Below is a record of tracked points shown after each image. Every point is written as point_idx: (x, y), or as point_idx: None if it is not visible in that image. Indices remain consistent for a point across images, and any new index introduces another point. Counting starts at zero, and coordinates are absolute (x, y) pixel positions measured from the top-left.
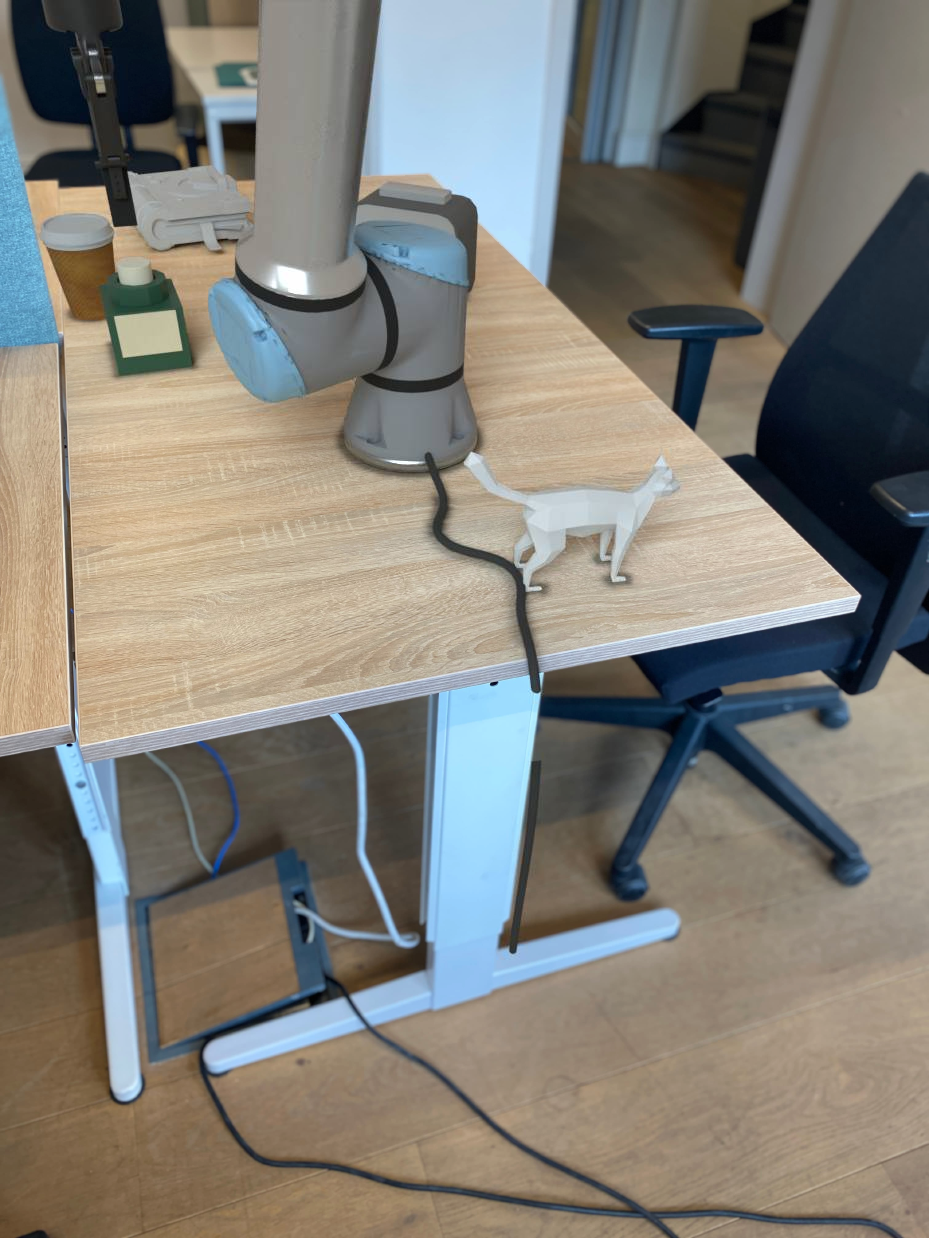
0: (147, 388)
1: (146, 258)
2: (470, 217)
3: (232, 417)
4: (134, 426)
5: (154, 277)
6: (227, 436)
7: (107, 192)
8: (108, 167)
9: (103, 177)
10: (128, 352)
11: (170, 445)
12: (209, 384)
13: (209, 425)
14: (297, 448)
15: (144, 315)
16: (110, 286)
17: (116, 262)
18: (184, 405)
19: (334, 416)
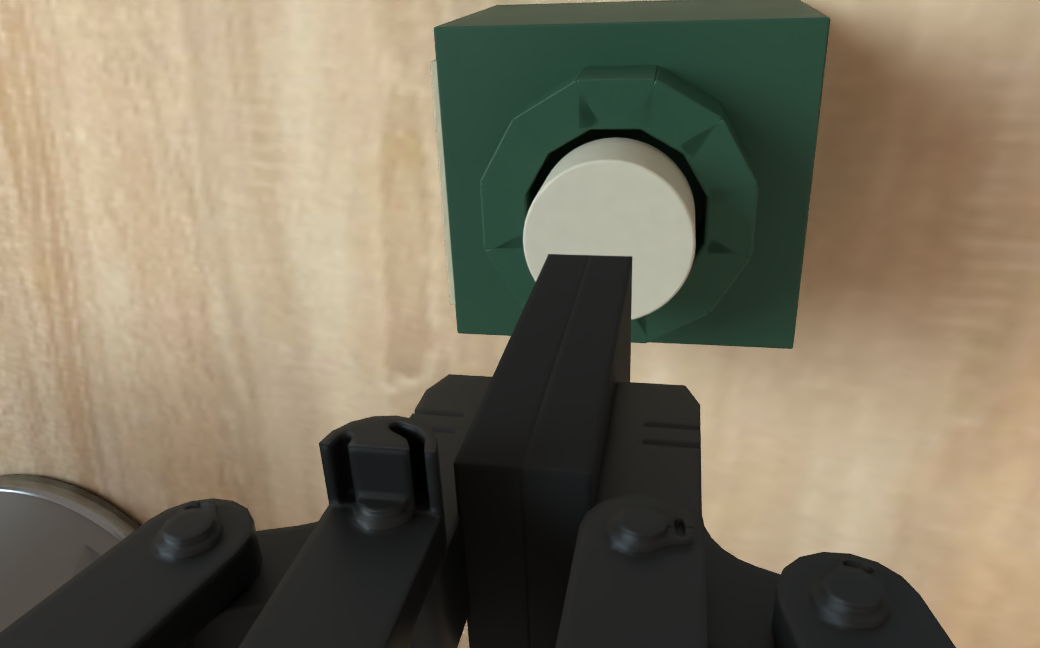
0: (388, 90)
1: (647, 313)
2: None
3: (184, 289)
4: (152, 25)
5: None
6: (90, 258)
7: (508, 357)
8: (314, 523)
9: (528, 410)
10: None
11: (48, 112)
12: (380, 272)
13: (146, 227)
14: (36, 387)
15: (441, 184)
16: (560, 88)
17: (631, 164)
18: (262, 183)
19: (172, 495)
